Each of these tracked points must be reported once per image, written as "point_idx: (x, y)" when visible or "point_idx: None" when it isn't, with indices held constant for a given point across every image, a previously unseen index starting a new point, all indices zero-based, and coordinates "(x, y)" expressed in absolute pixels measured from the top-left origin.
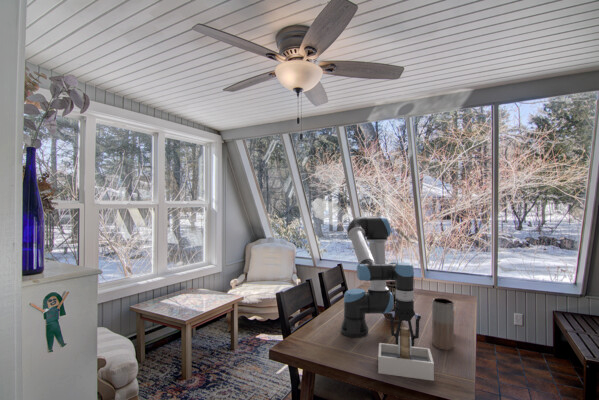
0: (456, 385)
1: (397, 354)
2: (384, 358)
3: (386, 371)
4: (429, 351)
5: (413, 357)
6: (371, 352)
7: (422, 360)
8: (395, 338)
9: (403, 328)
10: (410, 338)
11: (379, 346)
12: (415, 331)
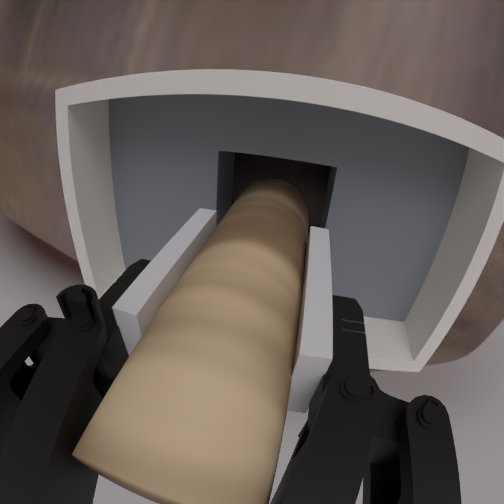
0: (468, 321)
1: (223, 112)
2: None
3: None
4: (501, 211)
5: (359, 152)
6: (95, 33)
7: (415, 201)
8: (104, 298)
9: (132, 488)
10: (305, 389)
11: (61, 161)
12: (401, 489)
